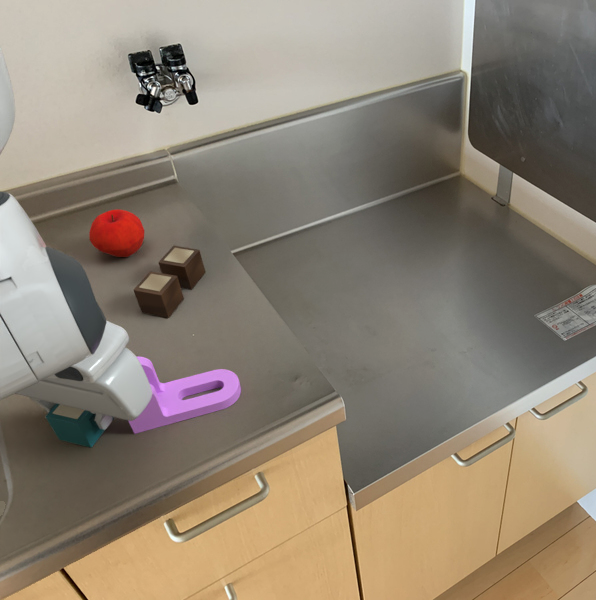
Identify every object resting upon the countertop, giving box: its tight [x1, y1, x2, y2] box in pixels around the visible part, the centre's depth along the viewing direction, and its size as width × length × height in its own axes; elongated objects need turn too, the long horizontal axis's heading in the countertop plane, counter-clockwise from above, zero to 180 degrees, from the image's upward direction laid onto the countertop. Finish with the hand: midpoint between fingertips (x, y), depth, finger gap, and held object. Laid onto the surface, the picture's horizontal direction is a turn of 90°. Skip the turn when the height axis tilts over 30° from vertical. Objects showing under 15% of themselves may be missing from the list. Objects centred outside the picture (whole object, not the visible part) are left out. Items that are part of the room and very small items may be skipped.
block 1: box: [158, 245, 206, 291], centre depth 93 cm, size 4×4×4 cm
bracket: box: [128, 356, 242, 435], centre depth 74 cm, size 13×6×7 cm, turn 111°
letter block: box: [44, 404, 115, 449], centre depth 71 cm, size 4×4×4 cm
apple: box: [88, 208, 145, 258], centre depth 97 cm, size 8×8×7 cm
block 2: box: [133, 270, 185, 319], centre depth 88 cm, size 4×4×4 cm
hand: (82, 419), depth 72 cm, fingers closed on letter block, 4 cm apart
